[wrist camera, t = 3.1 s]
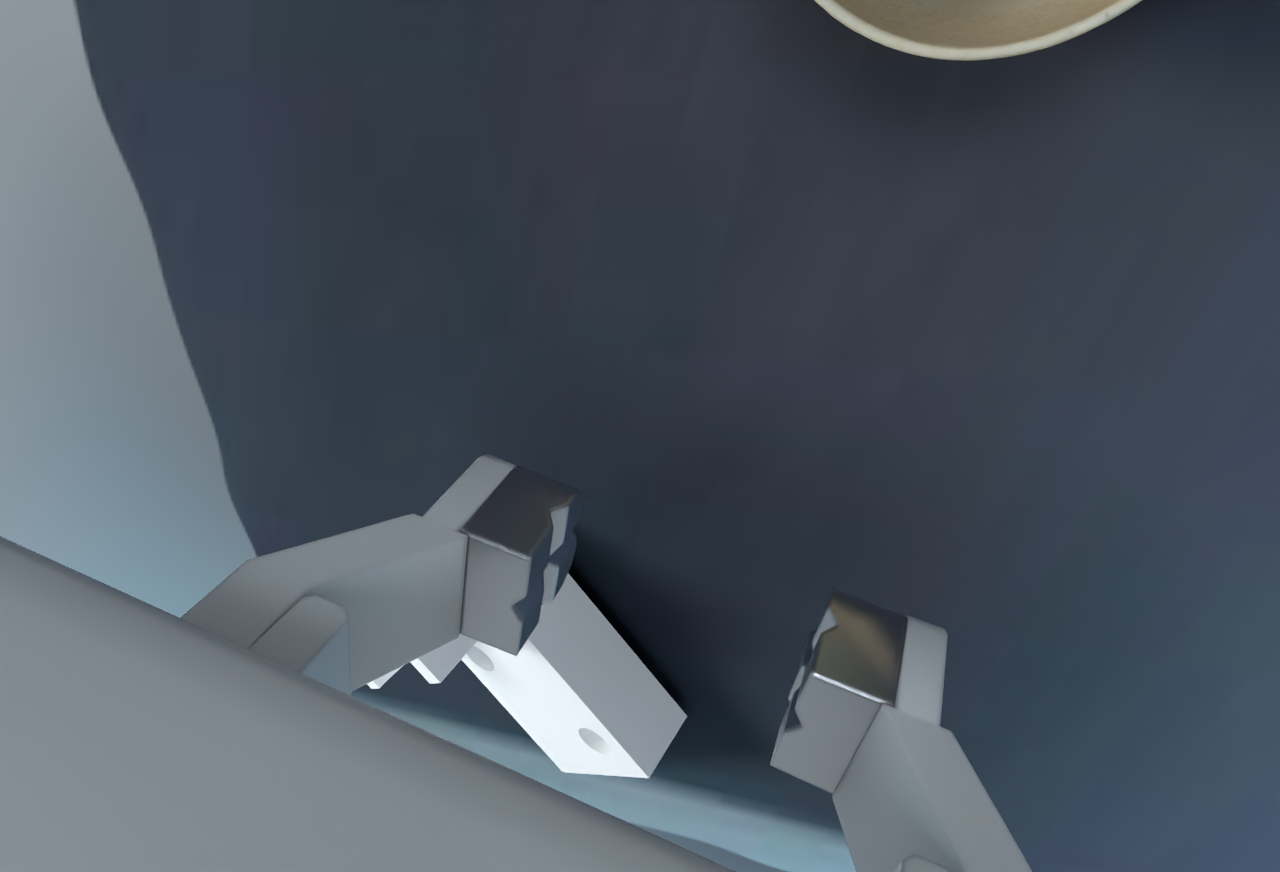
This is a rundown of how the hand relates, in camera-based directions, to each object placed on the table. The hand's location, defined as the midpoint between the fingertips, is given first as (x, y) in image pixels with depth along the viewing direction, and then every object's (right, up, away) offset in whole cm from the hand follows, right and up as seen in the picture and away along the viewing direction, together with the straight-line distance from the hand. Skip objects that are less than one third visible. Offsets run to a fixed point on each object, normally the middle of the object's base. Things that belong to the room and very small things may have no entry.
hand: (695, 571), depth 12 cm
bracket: (-5, -8, +31) cm, 33 cm away
